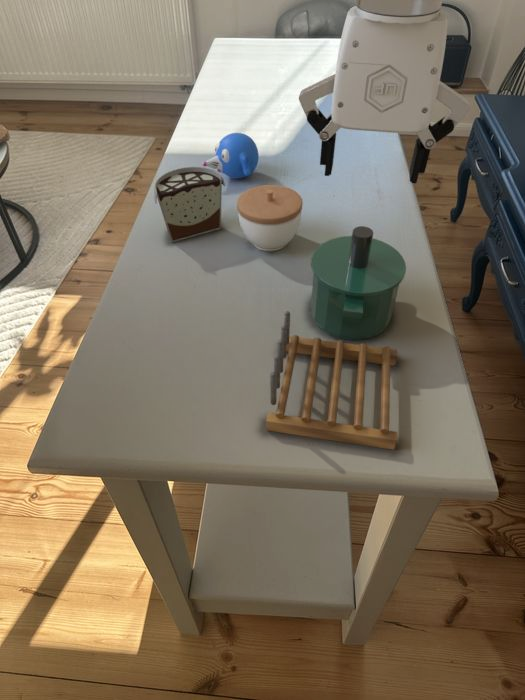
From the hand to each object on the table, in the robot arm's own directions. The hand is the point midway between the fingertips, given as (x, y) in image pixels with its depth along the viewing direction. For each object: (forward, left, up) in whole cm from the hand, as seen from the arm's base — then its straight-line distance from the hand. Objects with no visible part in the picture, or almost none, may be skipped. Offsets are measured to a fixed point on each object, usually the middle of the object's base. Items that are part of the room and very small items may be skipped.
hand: (370, 173), depth 56 cm
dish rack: (+1, +16, -22) cm, 27 cm away
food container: (+30, -18, -22) cm, 41 cm away
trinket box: (+15, -16, -22) cm, 31 cm away
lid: (0, 0, -13) cm, 13 cm away
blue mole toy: (+27, -37, -22) cm, 50 cm away
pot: (0, 0, -22) cm, 22 cm away
